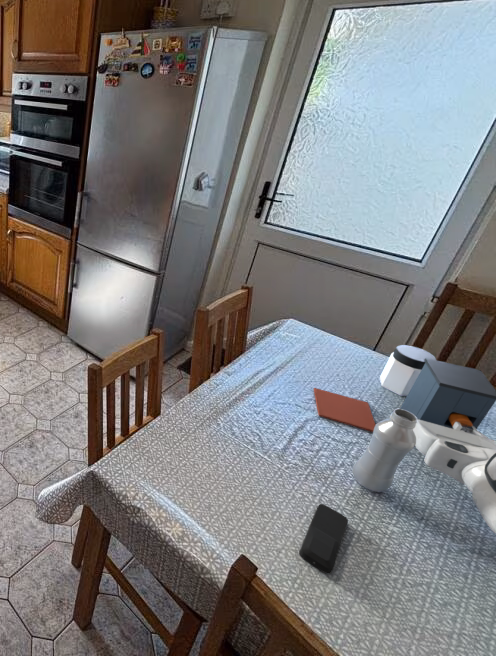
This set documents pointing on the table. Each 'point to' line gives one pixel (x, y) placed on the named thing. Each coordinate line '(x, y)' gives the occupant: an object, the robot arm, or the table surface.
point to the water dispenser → (449, 393)
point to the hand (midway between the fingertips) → (462, 425)
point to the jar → (403, 369)
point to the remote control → (324, 538)
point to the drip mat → (344, 409)
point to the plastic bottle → (386, 451)
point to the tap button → (459, 419)
